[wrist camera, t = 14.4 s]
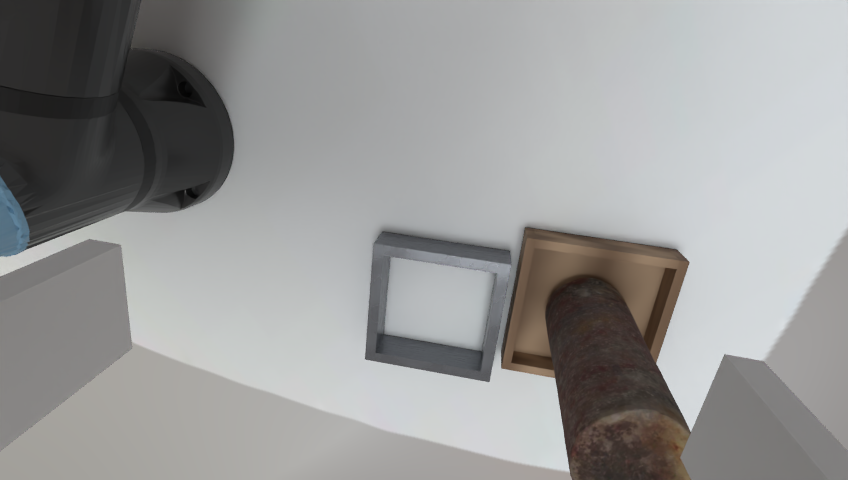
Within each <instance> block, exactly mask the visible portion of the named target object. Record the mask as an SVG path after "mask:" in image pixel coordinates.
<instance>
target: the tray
mask: <svg viewBox="0 0 848 480" xmlns="http://www.w3.org/2000/svg"><path fill="white" fill-rule="evenodd" d="M688 265H689V261H688V260H687V259H686V258H685V257H684V256H683V255H682V254H681V253H680V252H679V251H678V250H676V249H669V248H662V247H655V246H649V245H642V244H635V243H628V242H621V241H615V240H608V239H601V238H594V237H587V236H580V235H574V234H567V233H560V232H553V231H546V230H540V229H533V228H526V227H525V231H524V236H523V241H522V246H521V252H520V257H519V262H518V267H517V272H516V278H515V283H514V288H513V293H512V298H511V304H510V309H509V314H508V319H507V324H506V330H505V335H504V340H503V345H502V350H501V368H502V369H508V370H513V371H519V372H525V373H530V374H536V375H541V376H547V377H553V378H555V373H554V367H553V362H552V357H551V352H550V346H549V340H548V334H547V327H546V319H545V311H546V305H547V303H548V300H549V298H550V296H551V295H552V294H553V293H554V292H555V291H556V290H557V289H558V288H560V287H561V286H563V285H564V284H567V283H569V282H571V281H574V280H576V279H580V278H595V279H599V280H601V281H603V282H605V283H607V284H609V285H611V286H612V287H613V288H615V289H616V290H617V291H618V292H619V293H620V294H621V295H622V296H623V298H624V300H625V302H626V304H627V306H628V308H629V309H630V312H631V314H632V316H633V318H634V320H635V322H636V324H637V326H638V328H639V330H640V332H641V334H642V336H643V339H644V341H645V343H646V345H647V347H648V349H649V351H650V353H651V355H652V357H653V359H654V361H655V363H656V362H657V359H658V356H659V353H660V350H661V347H662V344H663V341H664V338H665V335H666V332H667V329H668V326H669V323H670V320H671V317H672V314H673V311H674V308H675V304H676V301H677V298H678V295H679V292H680V289H681V286H682V283H683V280H684V277H685V274H686V271H687V268H688Z"/></svg>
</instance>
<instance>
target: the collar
mask: <svg viewBox="0 0 848 480" xmlns="http://www.w3.org/2000/svg"><path fill="white" fill-rule="evenodd" d="M390 257H397V258H403V259H409V260H416V261H422V262H428V263H435V264H441V265H447V266H454V267H460V268H466V269H473V270H479V271H485V272H492V273H496V274H495V280H494V285H493V291H492V297H491V302H490V308H489V314H488V319H487V325H486V331H485V337H484V342H483V348H482V352H481V351H475V350H469V349H464V348H458V347H452V346H447V345H441V344H435V343H430V342H424V341H418V340H413V339H407V338H401V337H395V336H390V335H384V324H385V312H386V301H387V290H388V278H389V267H390ZM510 269H511V255H510V251H506V250H500V249H493V248H487V247H480V246H474V245H467V244H461V243H454V242H447V241H441V240H434V239H428V238H421V237H415V236H408V235H402V234H395V233H389V232H382V233H381V234H380V236H379V237H378V238H377V240H376V241H375V242H374V245H373V259H372V272H371V286H370V299H369V313H368V326H367V340H366V353H365V359H366V360H371V361H377V362H382V363H388V364H393V365H399V366H404V367H410V368H415V369H421V370H426V371H432V372H437V373H443V374H448V375H453V376H459V377H464V378H470V379H475V380H481V381H486V382H489V381H490V376H491V370H492V365H493V360H494V354H495V349H496V344H497V338H498V333H499V328H500V322H501V317H502V311H503V306H504V301H505V295H506V290H507V285H508V279H509V274H510Z"/></svg>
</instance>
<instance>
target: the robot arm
mask: <svg viewBox="0 0 848 480" xmlns="http://www.w3.org/2000/svg"><path fill="white" fill-rule="evenodd" d="M140 3H141V0H0V257H1V256H5V257H7V256H11V255H16V254H18V253H20V252H22V251H24V250H26V249H29V248H31V247H34V246H37V245H39V244H42V243H44V242H47V241H49V240H52V239H55V238H57V237H60V236H62V235H65V234H67V233H70V232H73V231H75V230H78V229H80V228H83V227H85V226H88V225H91V224H93V223H96V222H98V221H101V220H103V219H106V218H108V217H111V216H114V215H116V214H119V213H121V212H124V211H131V212H157V213H168V212H175V211H180V210H183V209H186V208H189V207H191V206H194V205H196V204H198V203H201V202H203V201H205V200H206V199H208V198H209V197H211V196H212V195H213V194H214V193H215V192H216V191H217V190H218V189H219V188H220V186H221V185H222V184H223V182H224V181H225V179H226V177H227V175H228V172H229V169H230V166H231V162H232V157H233V135H232V128H231V124H230V120H229V117H228V114H227V111H226V109H225V107H224V105H223V103H222V101H221V99H220V97H219V95H218V94H217V92H216V91H215V89H214V88H213V87H212V85H211V84H210V83H209V82H208V80H207V79H206V78H205V77H204V76H203V75H202V74H201V73H200V72H199V71H198V70H196V69H195V68H194V67H193V66H191V65H190V64H188V63H187V62H185V61H184V60H182V59H180V58H178V57H176V56H174V55H171V54H168V53H165V52H162V51H157V50H147V49H130V46H131V41H132V37H133V33H134V28H135V24H136V20H137V15H138V11H139V7H140ZM131 349H132V342H131V333H130V323H129V314H128V305H127V296H126V286H125V277H124V268H123V259H122V250H121V245H119V244H114V243H108V242H103V241H97V240H92V239H88V240H86V241H84V242H81V243H79V244H77V245H74V246H72V247H69V248H67V249H65V250H62V251H60V252H58V253H55V254H53V255H51V256H48V257H46V258H43V259H41V260H39V261H36V262H34V263H32V264H29V265H27V266H25V267H22V268H20V269H17V270H15V271H13V272H10V273H8V274H6V275H3V276H1V277H0V451H1V450H2V449H4V448H5V447H6V446H8V445H9V444H10V443H11V442H13V441H14V440H15V439H17V438H18V437H19V436H20V435H21V434H23V433H24V432H26V431H27V430H28V429H29V428H31V427H32V426H33V425H35V424H36V423H37V422H38V421H40V420H41V419H42V418H43V417H45V416H46V415H47V414H49V413H50V412H51V411H52V410H54V409H55V408H56V407H58V406H59V405H60V404H61V403H63V402H64V401H65V400H67V399H68V398H69V397H70V396H72V395H73V394H74V393H75V392H77V391H78V390H79V389H81V388H82V387H83V386H84V385H86V384H87V383H88V382H90V381H91V380H92V379H94V378H95V377H96V376H97V375H99V374H100V373H101V372H102V371H104V370H105V369H106V368H108V367H109V366H110V365H112V364H113V363H114V362H115V361H117V360H118V359H119V358H121V357H122V356H123V355H124V354H126V353H127V352H128V351H129V350H131ZM680 458H681V460H682V462H683V464H684V466H685V468H686V470H687V472H688V474H689V476H690V478H691V480H848V450H847V449H846V448H845V447H844V446H843V445H842V444H841V443H840V442H839V441H838V440H837V439H836V438H835V437H834V436H833V435H832V433H831V432H830V431H829V430H828V429H827V428H826V427H825V426H824V425H823V424H822V423H821V422H820V421H819V420H818V419H817V417H816V416H815V415H814V414H813V413H812V412H811V411H810V410H809V409H808V408H807V407H806V406H805V405H804V404H803V403H802V402H801V400H800V399H799V398H798V397H797V396H796V395H795V394H794V393H793V392H792V391H791V390H790V389H789V388H788V387H787V386H786V385H785V383H784V382H782V380H781V379H780V378H779V377H778V376H777V375H776V374H775V373H774V372H773V371H772V370H771V369H770V367H769V366H767V364H766V363H765V362H764V361H759V360H753V359H748V358H742V357H737V356H731V355H726V354H724V357H723V359H722V361H721V364H720V366H719V368H718V371H717V373H716V375H715V378H714V380H713V382H712V385H711V387H710V389H709V392H708V394H707V396H706V399H705V401H704V403H703V406H702V408H701V410H700V413H699V415H698V417H697V420H696V422H695V424H694V427H693V429H692V431H691V434H690V436H689V438H688V441H687V443H686V445H685V448H684V450H683V452H682V455H681V457H680Z"/></svg>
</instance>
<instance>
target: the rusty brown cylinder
mask: <svg viewBox="0 0 848 480" xmlns="http://www.w3.org/2000/svg"><path fill="white" fill-rule="evenodd" d="M545 319H546V327H547V334H548V340H549V346H550V352H551V357H552V362H553V367H554V373H555V379H556V385H557V391H558V397H559V404H560V410H561V417H562V423H563V429H564V437H565V444H566V450H567V456H568V462H569V469H570V475H571V477H572V480H691V478H690V476H689V474H688V472H687V470H686V468H685V466H684V464H683V462H682V460H681V458H680V457H681V455H682V452H683V450H684V448H685V445H686V443H687V441H688V438H689V436H690V434H691V432H690V430H689V427H688V425H687V423H686V421H685V419H684V417H683V415H682V413H681V411H680V409H679V407H678V406H677V404H676V402H675V400H674V398H673V396H672V394H671V392H670V390H669V388H668V386H667V384H666V382H665V380H664V378H663V376H662V374H661V372H660V370H659V368H658V366H657V365H656V363H655V361H654V359H653V357H652V355H651V353H650V351H649V349H648V347H647V345H646V343H645V341H644V339H643V336H642V334H641V332H640V330H639V328H638V326H637V324H636V322H635V320H634V318H633V316H632V314H631V312H630V309H629V308H628V306H627V304H626V302H625V300H624V298H623V296H622V295H621V294H620V293H619V292H618V291H617V290H616V289H615V288H613V287H612V286H611V285H609V284H607V283H605V282H603V281H601V280H599V279H595V278H580V279H576V280H574V281H571V282H569V283H567V284H564V285H563V286H561V287H560V288H558V289H557V290H556V291H555V292H554V293H553V294H552V295H551V296H550V298H549V300H548V303H547V305H546V311H545Z"/></svg>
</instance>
